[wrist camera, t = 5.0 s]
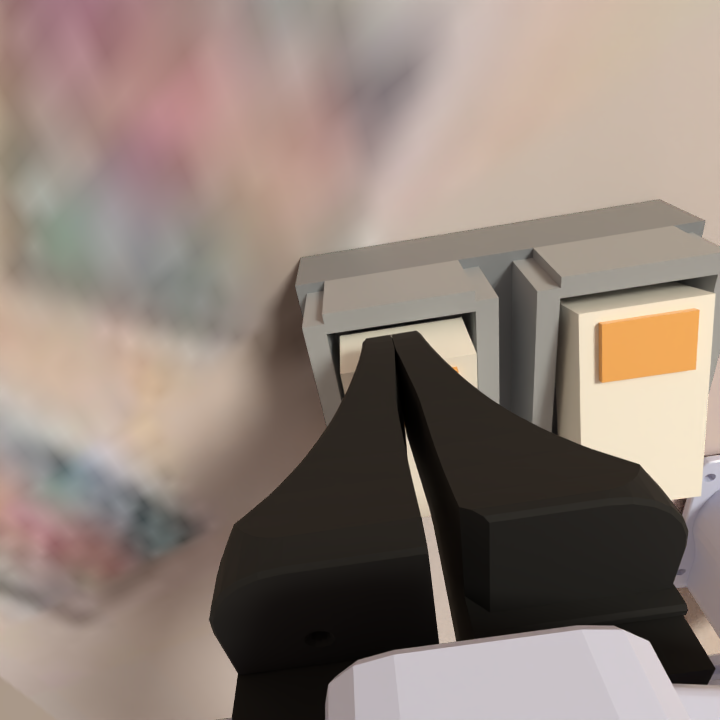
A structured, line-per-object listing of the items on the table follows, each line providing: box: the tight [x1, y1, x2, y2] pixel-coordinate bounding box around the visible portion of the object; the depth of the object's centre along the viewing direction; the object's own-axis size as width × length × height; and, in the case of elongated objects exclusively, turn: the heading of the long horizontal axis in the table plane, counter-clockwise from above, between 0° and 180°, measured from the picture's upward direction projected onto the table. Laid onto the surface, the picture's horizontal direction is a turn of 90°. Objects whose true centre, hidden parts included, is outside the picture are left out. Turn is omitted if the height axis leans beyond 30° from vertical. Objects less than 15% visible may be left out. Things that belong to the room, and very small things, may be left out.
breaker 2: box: [555, 281, 716, 500], centre depth 14 cm, size 6×3×2 cm, turn 9°
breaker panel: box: [295, 199, 720, 435], centre depth 17 cm, size 8×12×5 cm, turn 99°
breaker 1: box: [340, 317, 478, 517], centre depth 15 cm, size 6×3×2 cm, turn 9°
